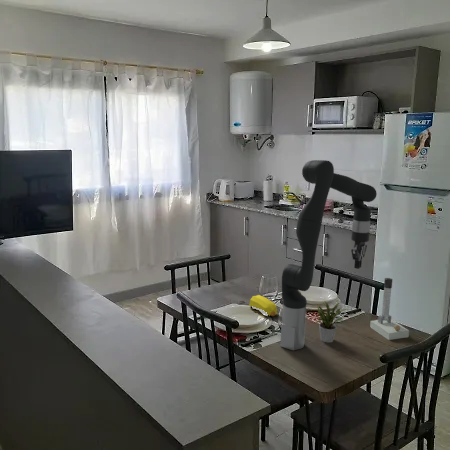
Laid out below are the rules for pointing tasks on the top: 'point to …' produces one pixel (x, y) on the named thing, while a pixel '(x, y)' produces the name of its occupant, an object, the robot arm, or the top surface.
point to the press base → (389, 328)
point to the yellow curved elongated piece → (264, 304)
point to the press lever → (386, 298)
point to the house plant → (328, 323)
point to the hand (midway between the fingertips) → (357, 267)
